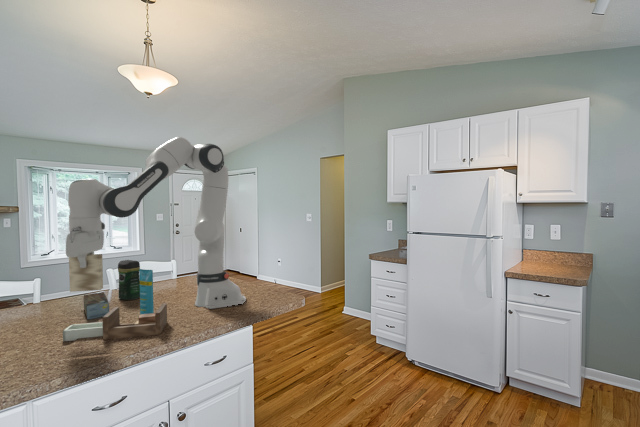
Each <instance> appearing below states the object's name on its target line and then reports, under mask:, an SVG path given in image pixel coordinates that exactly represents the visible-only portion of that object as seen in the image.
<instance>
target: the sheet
mask: <svg viewBox="0 0 640 427" xmlns="http://www.w3.org/2000/svg"><path fill="white" fill-rule="evenodd" d="M86 261H87V262H88V266H87V267H85V268H80V263H79V260H78V258H77V257H68V267H69V269H68V270H69V271H68V274H69V292H70V293H71V292H72V293H73V292H89V291H92V292H93V291H101V290H102V289H104V276H103V274H104V272H103V254H102V253H99V254H98V253H96V254H95V253H94V254H91V255H86Z"/></svg>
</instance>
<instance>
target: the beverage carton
mask: <svg viewBox="0 0 640 427" xmlns="http://www.w3.org/2000/svg"><path fill="white" fill-rule="evenodd" d="M83 310H84V313H85V316H86V318H87V320H93V319H99V318H102V317H103V316H105V315H106V314H107V313H108V312H109V311H110V303H109V300H108V298H107V296H106V294H105V292H104V291H101V292H97V293H95V292H94V293H90V294H84V295H83Z"/></svg>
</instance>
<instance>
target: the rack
mask: <svg viewBox="0 0 640 427" xmlns="http://www.w3.org/2000/svg"><path fill="white" fill-rule="evenodd" d="M154 313H155V320H156V323H155V324H143V325H134V324H135V323H136V322H134V323H133V322H131V323H121V322H120V321H121V320H120V306H114V307H113V308H112V309H110V310H109V312H108V313H107V314H106V315H105V316H103V317H101V318H102V322H103V336H102V340H111V339H123V338H124V339H125V338H132V337H133V338H134V337H144V336H156V335H162V332H163V331H164V329H165V327H166V326H167V325H168V303H167V302H166V303H164V302H163V303H162V304H161V305H160V306H159V308H158V309H157V310H156V312H154Z"/></svg>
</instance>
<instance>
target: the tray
mask: <svg viewBox="0 0 640 427" xmlns="http://www.w3.org/2000/svg"><path fill="white" fill-rule="evenodd" d="M95 337H103V321H99V322H88V323H75V324H71V325H69V326H67V327H66V328H64V330H62V342H70V341H76V340H77V339H85V338H86V339H87V338H95Z"/></svg>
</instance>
